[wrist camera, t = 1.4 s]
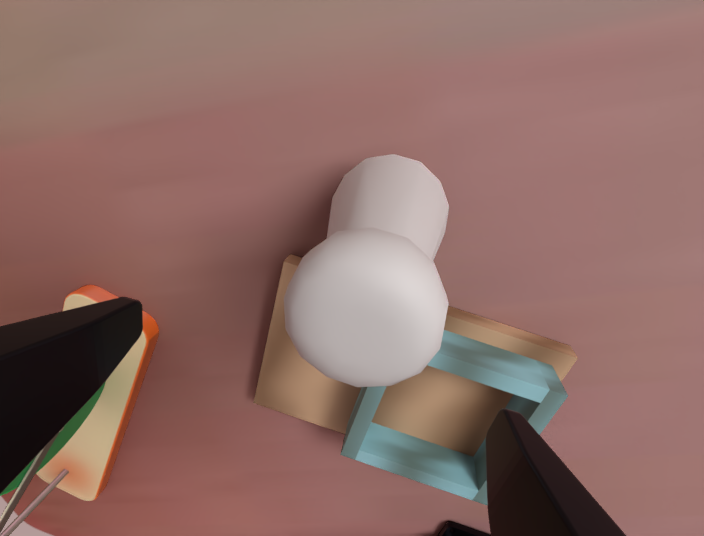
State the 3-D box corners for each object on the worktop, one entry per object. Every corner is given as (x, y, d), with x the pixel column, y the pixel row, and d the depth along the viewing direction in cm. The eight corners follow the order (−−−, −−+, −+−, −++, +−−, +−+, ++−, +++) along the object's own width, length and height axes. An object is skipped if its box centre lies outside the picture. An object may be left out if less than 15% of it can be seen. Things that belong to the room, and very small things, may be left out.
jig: (569, 345, 22) (597, 388, 19) (485, 468, 27) (495, 519, 24) (290, 253, 23) (268, 279, 19) (259, 391, 28) (238, 430, 25)
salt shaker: (320, 204, 21) (199, 329, 9) (388, 124, 19) (340, 156, 7) (394, 269, 22) (368, 457, 10) (468, 201, 20) (542, 342, 8)
